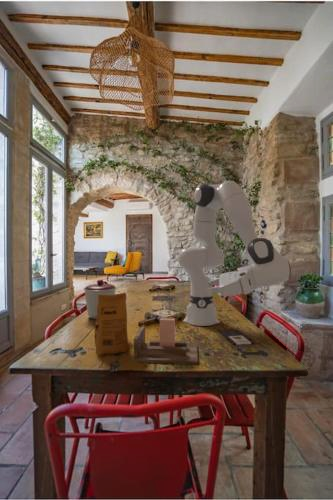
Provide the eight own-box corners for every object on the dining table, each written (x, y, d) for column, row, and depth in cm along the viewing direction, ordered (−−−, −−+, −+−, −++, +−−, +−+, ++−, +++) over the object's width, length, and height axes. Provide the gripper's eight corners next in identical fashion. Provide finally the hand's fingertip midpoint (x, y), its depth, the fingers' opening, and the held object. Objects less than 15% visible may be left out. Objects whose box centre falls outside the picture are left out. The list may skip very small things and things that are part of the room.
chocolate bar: (237, 329, 132) (254, 342, 114) (237, 331, 132) (254, 344, 114) (218, 330, 131) (233, 343, 113) (218, 332, 131) (233, 346, 113)
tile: (160, 349, 105) (160, 318, 105) (175, 350, 104) (175, 318, 104) (159, 352, 103) (159, 319, 102) (174, 352, 102) (174, 320, 102)
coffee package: (94, 347, 111) (94, 292, 110) (125, 344, 114) (125, 290, 113) (94, 356, 101) (94, 296, 101) (128, 353, 104) (128, 294, 104)
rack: (142, 345, 112) (142, 325, 112) (196, 347, 110) (196, 326, 110) (133, 361, 97) (133, 339, 96) (197, 364, 95) (197, 340, 94)
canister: (120, 313, 165) (120, 277, 164) (111, 321, 147) (111, 281, 146) (90, 312, 166) (90, 277, 166) (78, 321, 148) (77, 281, 148)
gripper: (240, 265, 112) (207, 273, 115) (244, 277, 92) (204, 286, 95) (244, 280, 112) (211, 287, 115) (249, 295, 92) (209, 304, 95)
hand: (208, 287), depth 105 cm, fingers open, 8 cm apart
